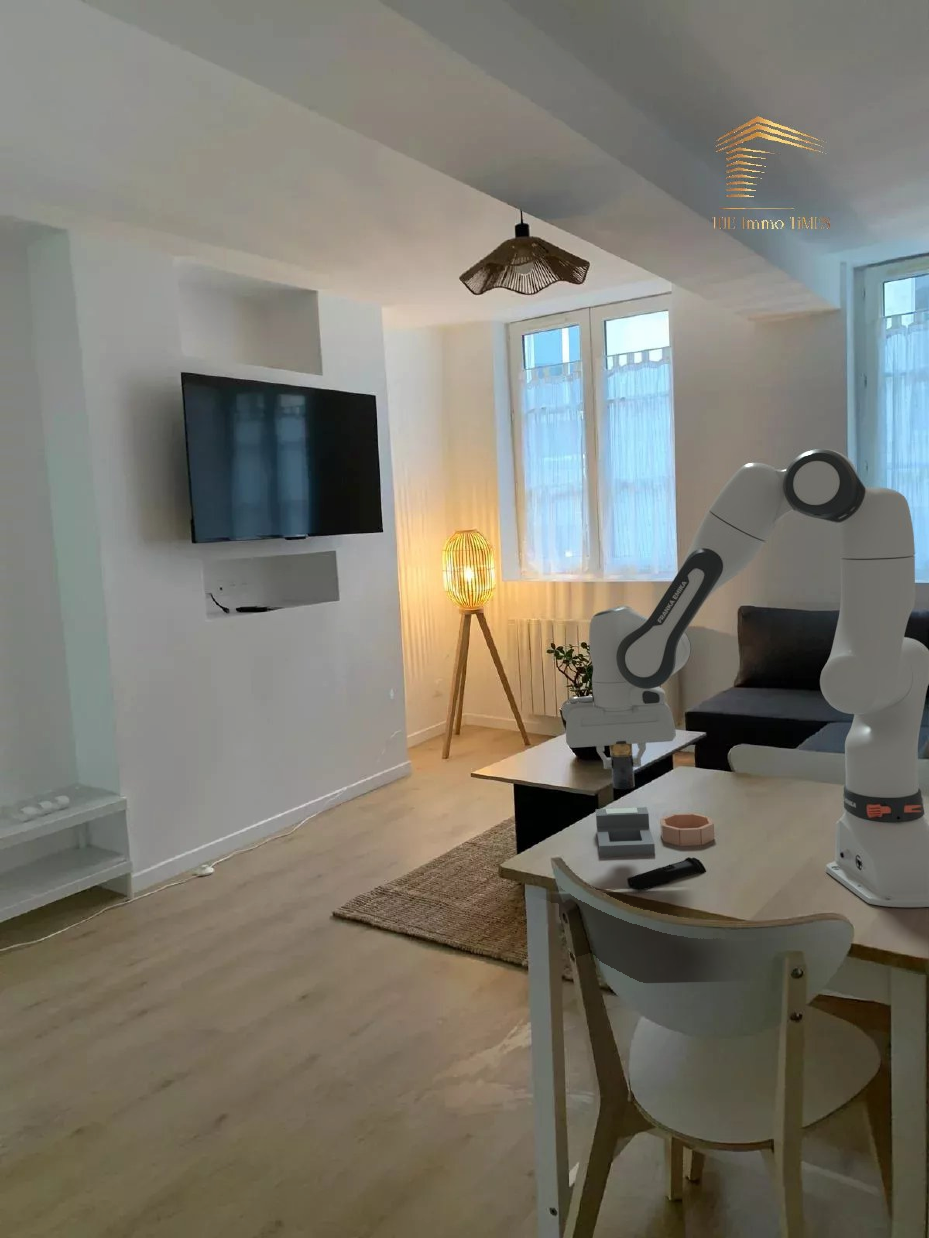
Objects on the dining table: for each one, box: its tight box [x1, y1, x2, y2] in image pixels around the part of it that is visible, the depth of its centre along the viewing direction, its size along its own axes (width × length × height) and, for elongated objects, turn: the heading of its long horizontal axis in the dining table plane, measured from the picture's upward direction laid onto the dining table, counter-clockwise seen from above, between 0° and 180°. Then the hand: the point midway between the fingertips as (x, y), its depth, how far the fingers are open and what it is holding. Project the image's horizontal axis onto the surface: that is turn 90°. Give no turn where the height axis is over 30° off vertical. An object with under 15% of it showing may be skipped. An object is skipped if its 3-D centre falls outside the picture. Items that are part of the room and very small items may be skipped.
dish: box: [659, 812, 715, 847], centre depth 180 cm, size 10×10×4 cm
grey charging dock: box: [595, 806, 656, 858], centre depth 179 cm, size 14×10×5 cm
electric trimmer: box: [626, 856, 707, 891], centre depth 160 cm, size 4×16×3 cm, turn 117°
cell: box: [609, 741, 636, 790], centre depth 175 cm, size 4×4×10 cm
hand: (622, 767), depth 175 cm, fingers closed on cell, 4 cm apart
